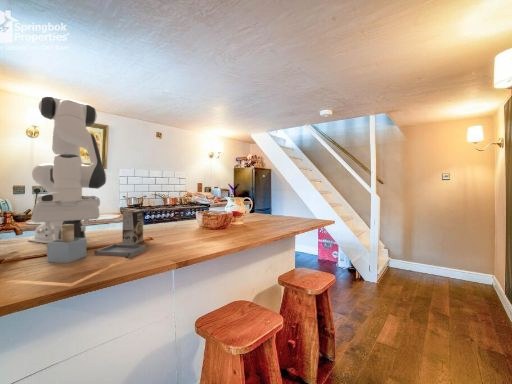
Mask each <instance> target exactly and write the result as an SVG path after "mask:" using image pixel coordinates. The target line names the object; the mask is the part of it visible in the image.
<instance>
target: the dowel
mask: <svg viewBox="0 0 512 384" xmlns="http://www.w3.org/2000/svg"><path fill="white" fill-rule="evenodd" d="M72 241H74V224H65V225H61V242H65V243H69V242H72Z"/></svg>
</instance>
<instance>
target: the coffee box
mask: <svg viewBox="0 0 512 384" xmlns="http://www.w3.org/2000/svg"><path fill="white" fill-rule="evenodd" d="M121 235H122V238H121V239H122V241H121V242H122V243H121V244H127V245H138V244H139V243H142V242H143V241H144V210H127V211H123V212H122V234H121Z"/></svg>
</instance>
